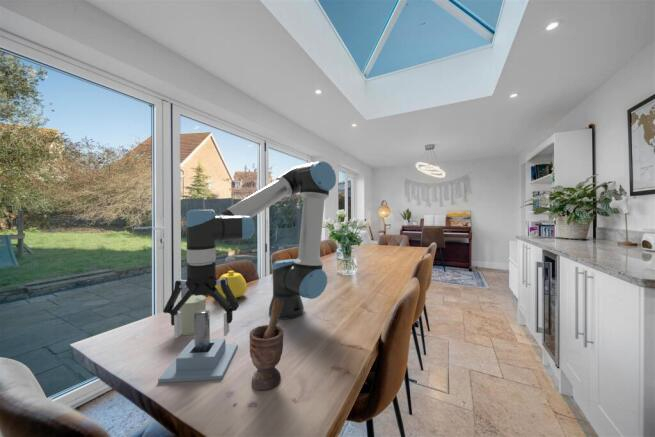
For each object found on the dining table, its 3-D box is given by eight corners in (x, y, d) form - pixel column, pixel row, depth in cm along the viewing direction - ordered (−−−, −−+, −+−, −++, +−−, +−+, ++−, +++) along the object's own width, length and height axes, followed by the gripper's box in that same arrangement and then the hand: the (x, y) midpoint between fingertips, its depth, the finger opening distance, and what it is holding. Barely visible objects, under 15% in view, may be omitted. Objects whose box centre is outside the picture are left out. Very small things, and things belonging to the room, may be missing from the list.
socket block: (237, 346, 83) (237, 333, 82) (222, 379, 67) (221, 362, 66) (186, 349, 81) (186, 335, 81) (158, 382, 65) (157, 365, 65)
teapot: (232, 307, 116) (232, 278, 115) (202, 305, 118) (201, 276, 118) (252, 293, 135) (252, 268, 135) (226, 291, 138) (225, 267, 138)
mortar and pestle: (257, 363, 73) (257, 296, 73) (287, 363, 74) (287, 296, 73) (245, 392, 62) (244, 312, 61) (280, 392, 62) (280, 312, 61)
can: (194, 336, 89) (194, 303, 89) (172, 333, 91) (172, 301, 91) (211, 324, 98) (211, 294, 98) (191, 322, 100) (190, 292, 100)
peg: (212, 355, 76) (211, 309, 75) (206, 363, 72) (206, 314, 72) (198, 355, 76) (197, 309, 75) (192, 363, 72) (191, 315, 71)
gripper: (248, 259, 78) (249, 326, 79) (163, 260, 75) (164, 330, 76) (242, 264, 70) (243, 339, 71) (147, 266, 68) (149, 343, 69)
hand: (202, 334), depth 74 cm, fingers open, 13 cm apart
